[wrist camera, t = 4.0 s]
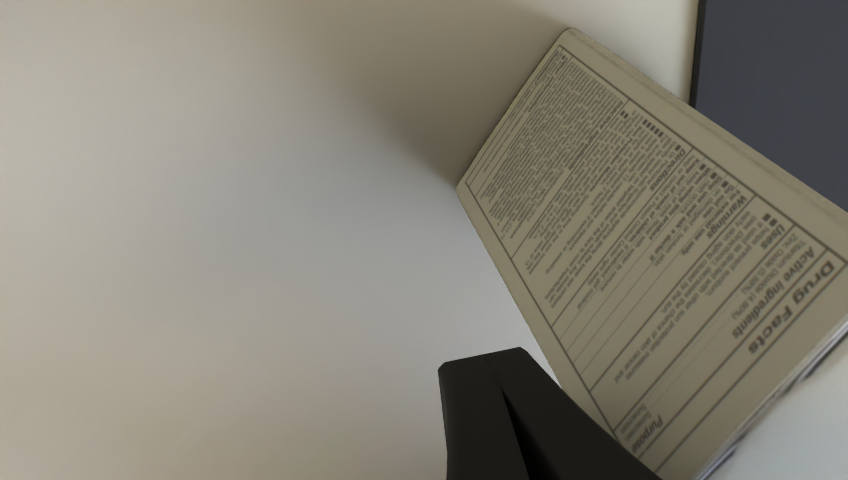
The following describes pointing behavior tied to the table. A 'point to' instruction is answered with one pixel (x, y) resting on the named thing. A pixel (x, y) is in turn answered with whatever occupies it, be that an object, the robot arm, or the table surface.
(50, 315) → the table surface
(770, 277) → the box
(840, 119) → the mat
